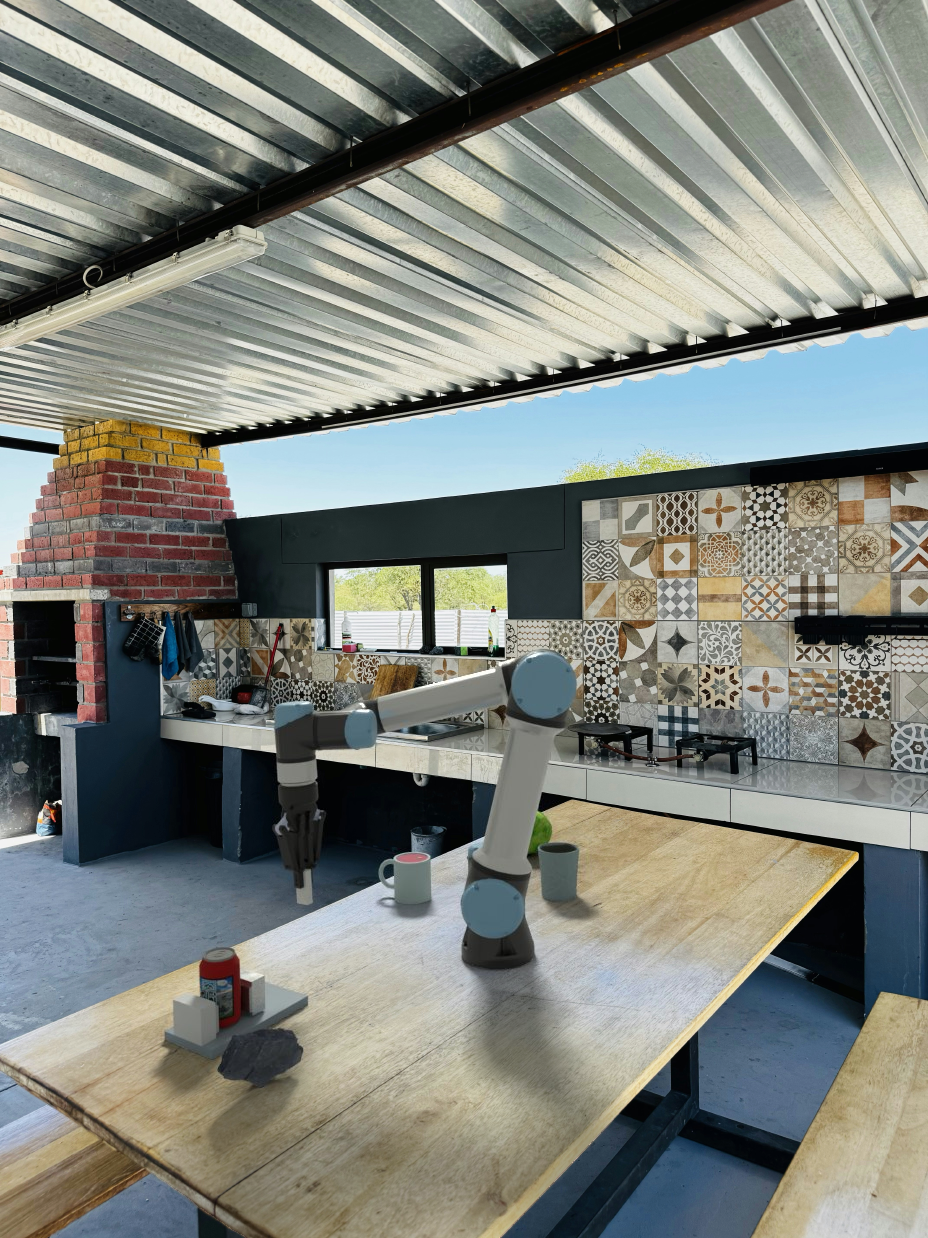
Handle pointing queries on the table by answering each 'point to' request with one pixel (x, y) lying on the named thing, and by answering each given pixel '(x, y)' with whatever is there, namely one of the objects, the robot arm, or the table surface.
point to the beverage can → (222, 983)
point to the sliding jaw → (252, 992)
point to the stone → (260, 1055)
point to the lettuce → (540, 832)
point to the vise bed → (201, 1020)
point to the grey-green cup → (558, 870)
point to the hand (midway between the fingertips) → (304, 903)
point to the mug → (409, 877)
